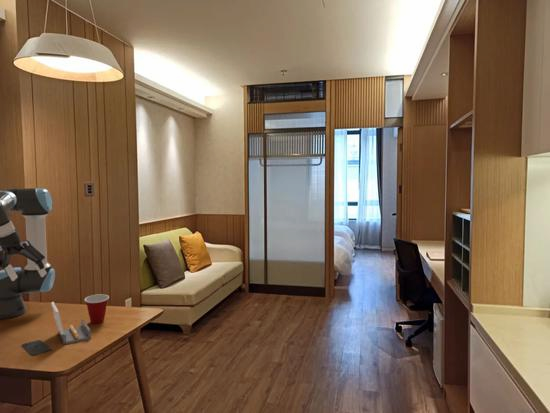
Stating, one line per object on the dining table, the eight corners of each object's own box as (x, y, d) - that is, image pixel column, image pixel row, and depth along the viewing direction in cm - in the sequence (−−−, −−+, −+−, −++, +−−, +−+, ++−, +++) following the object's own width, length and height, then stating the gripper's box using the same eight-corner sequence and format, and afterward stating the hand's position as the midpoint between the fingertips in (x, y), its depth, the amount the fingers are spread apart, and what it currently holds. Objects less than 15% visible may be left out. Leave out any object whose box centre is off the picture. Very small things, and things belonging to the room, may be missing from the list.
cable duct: (58, 332, 166) (58, 324, 166) (83, 327, 173) (83, 319, 172) (64, 344, 154) (63, 335, 154) (90, 338, 160) (90, 329, 160)
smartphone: (31, 355, 143) (20, 344, 153) (31, 357, 143) (20, 346, 153) (53, 348, 149) (40, 338, 159) (53, 351, 149) (40, 340, 159)
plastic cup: (83, 327, 174) (83, 301, 173) (86, 319, 184) (85, 295, 183) (108, 324, 178) (108, 299, 177) (110, 316, 188) (109, 293, 187)
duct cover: (58, 322, 166) (55, 323, 166) (53, 301, 165) (50, 302, 164) (63, 333, 154) (61, 334, 153) (58, 311, 152) (55, 312, 151)
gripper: (-30, 242, 146) (-4, 286, 154) (27, 234, 143) (51, 279, 151) (-16, 233, 152) (9, 275, 161) (39, 224, 149) (61, 268, 158)
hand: (29, 277), depth 156 cm, fingers open, 13 cm apart
